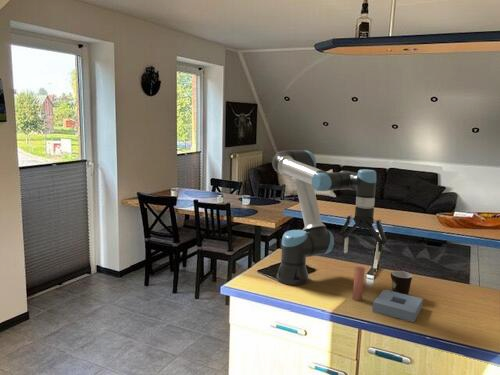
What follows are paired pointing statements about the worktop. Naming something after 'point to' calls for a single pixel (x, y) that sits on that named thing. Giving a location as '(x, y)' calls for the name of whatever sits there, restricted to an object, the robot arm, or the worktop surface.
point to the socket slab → (398, 305)
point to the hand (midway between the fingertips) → (361, 255)
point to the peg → (358, 283)
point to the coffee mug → (401, 281)
